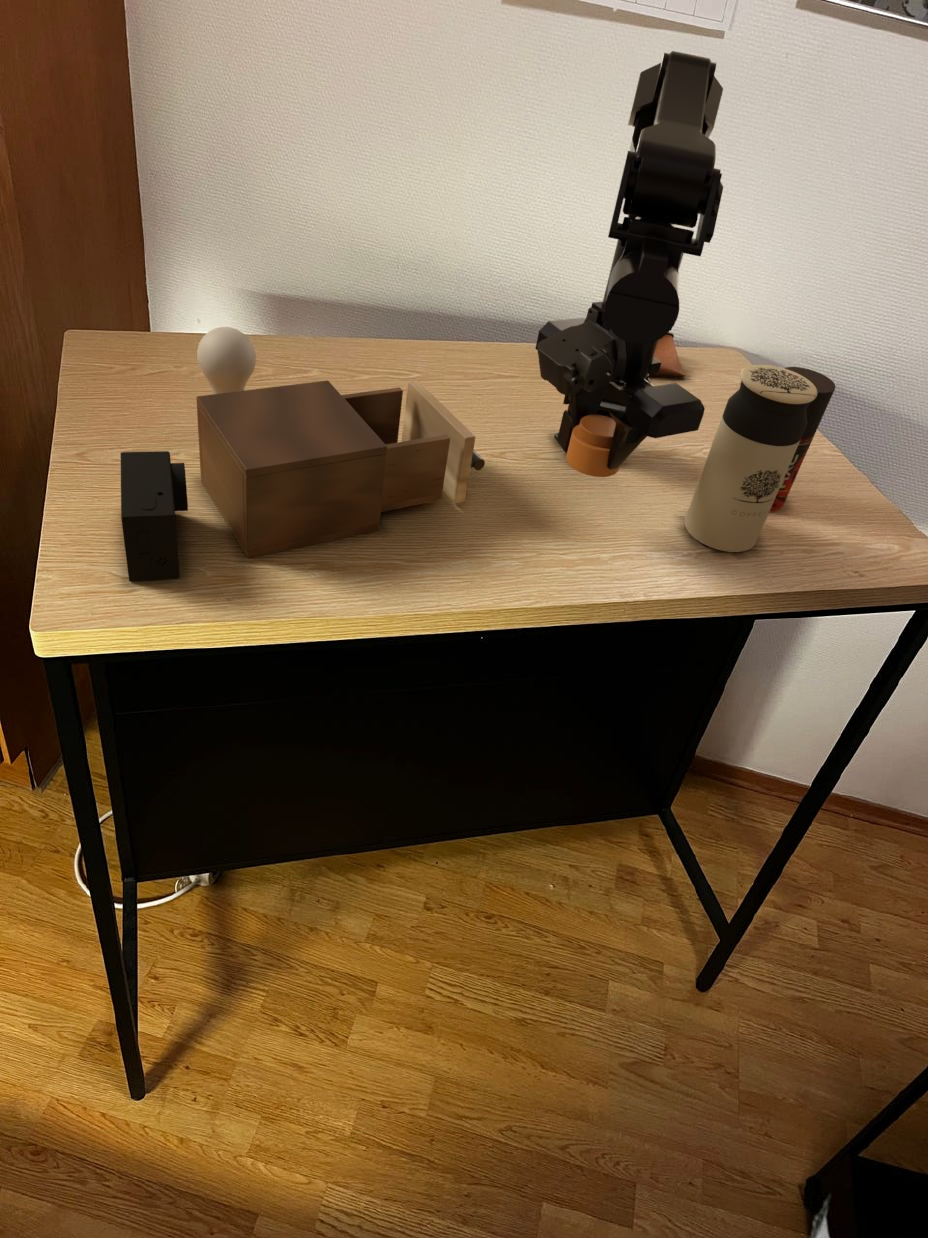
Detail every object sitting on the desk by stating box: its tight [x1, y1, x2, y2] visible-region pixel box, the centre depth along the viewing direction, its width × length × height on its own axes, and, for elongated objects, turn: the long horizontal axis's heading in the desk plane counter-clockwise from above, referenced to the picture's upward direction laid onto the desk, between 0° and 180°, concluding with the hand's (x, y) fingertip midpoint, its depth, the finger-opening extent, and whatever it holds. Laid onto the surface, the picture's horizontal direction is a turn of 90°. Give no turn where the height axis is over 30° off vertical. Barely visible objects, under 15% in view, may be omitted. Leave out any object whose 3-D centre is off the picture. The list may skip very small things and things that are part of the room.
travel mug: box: [683, 364, 817, 553], centre depth 93 cm, size 8×8×18 cm
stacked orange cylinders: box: [565, 415, 621, 478], centre depth 89 cm, size 5×5×4 cm
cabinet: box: [195, 380, 387, 559], centre depth 88 cm, size 14×14×10 cm
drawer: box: [341, 379, 486, 513], centre depth 94 cm, size 17×12×8 cm
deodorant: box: [769, 366, 836, 513], centre depth 101 cm, size 6×6×15 cm
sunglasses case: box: [649, 331, 687, 378], centre depth 128 cm, size 18×7×7 cm, turn 102°
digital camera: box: [120, 450, 189, 582], centre depth 81 cm, size 10×5×7 cm, turn 17°
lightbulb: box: [196, 326, 257, 395], centre depth 98 cm, size 6×6×11 cm
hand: (594, 453), depth 89 cm, fingers closed on stacked orange cylinders, 5 cm apart
